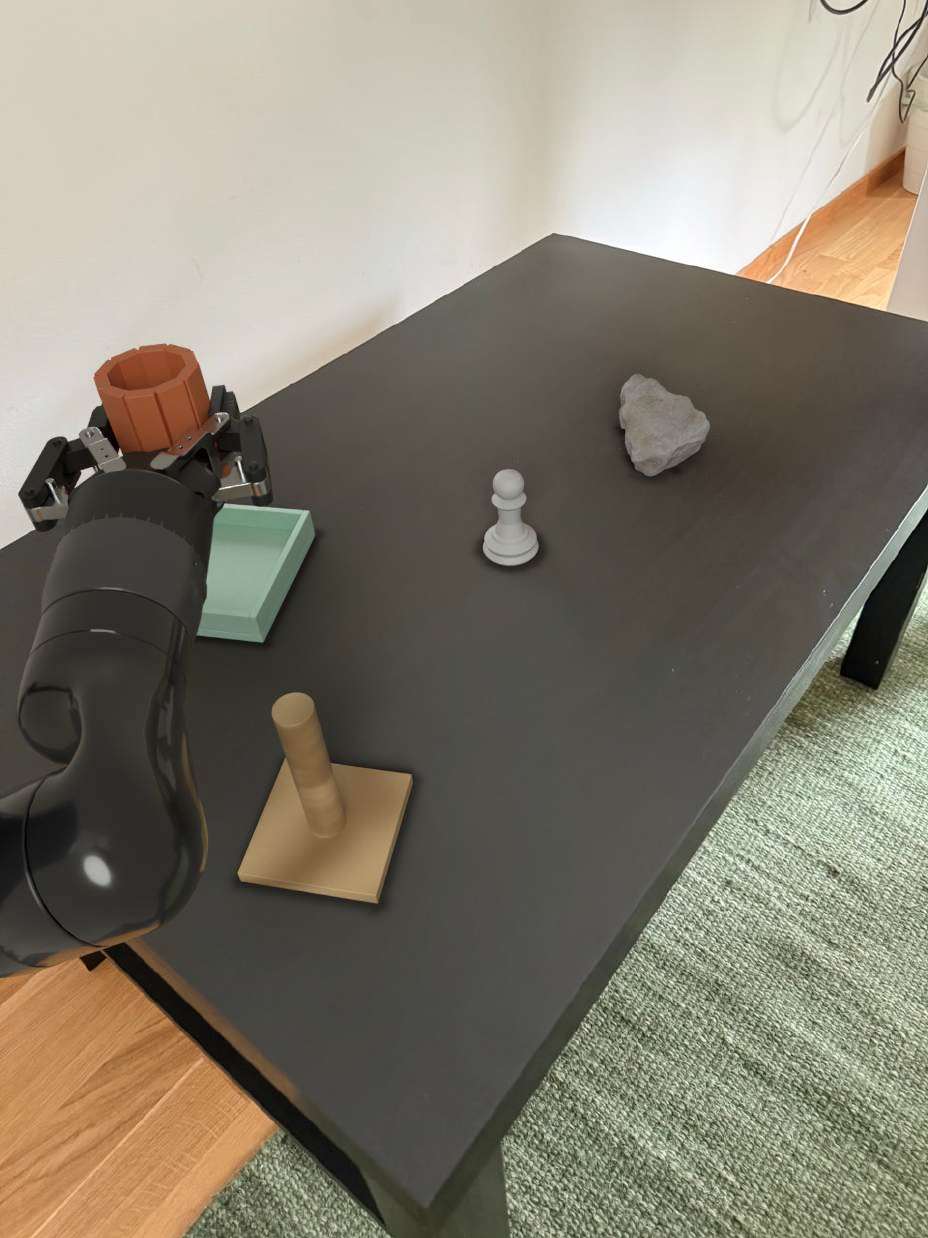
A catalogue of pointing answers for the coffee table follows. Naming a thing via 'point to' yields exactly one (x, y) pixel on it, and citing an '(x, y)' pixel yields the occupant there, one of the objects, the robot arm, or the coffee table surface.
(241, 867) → the peg stand
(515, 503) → the chess piece
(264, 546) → the tray
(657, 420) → the stone
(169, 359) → the ring collar
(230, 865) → the coffee table surface
